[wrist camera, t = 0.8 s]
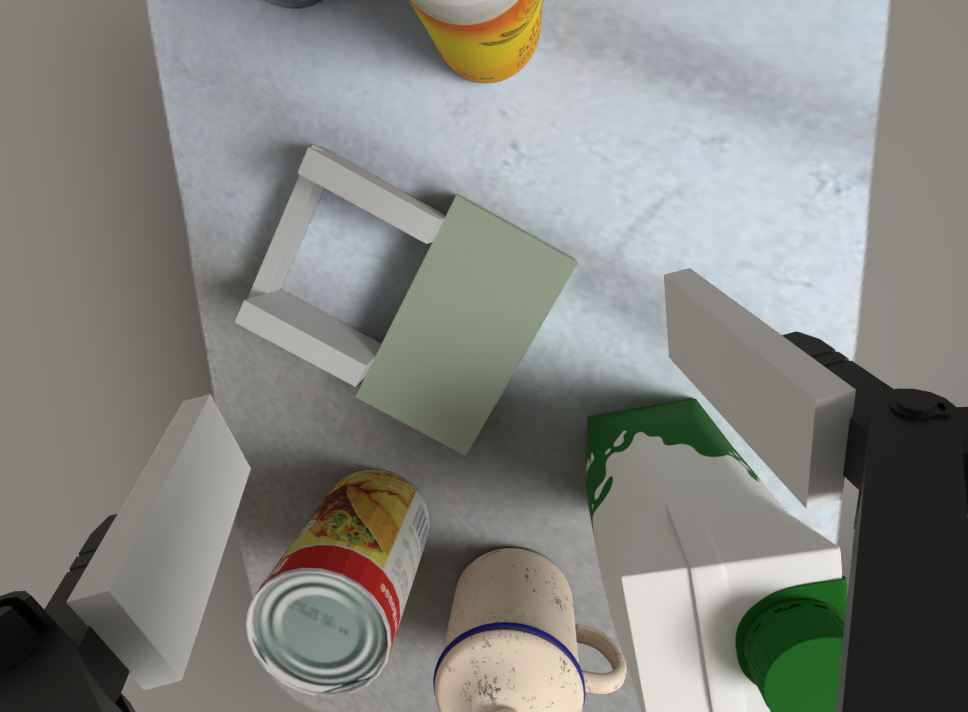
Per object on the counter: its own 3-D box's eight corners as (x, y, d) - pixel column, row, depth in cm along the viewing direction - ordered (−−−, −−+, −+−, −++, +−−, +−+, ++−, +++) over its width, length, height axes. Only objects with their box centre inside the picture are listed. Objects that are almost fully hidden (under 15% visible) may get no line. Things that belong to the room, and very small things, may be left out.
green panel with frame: (333, 125, 35) (302, 111, 31) (574, 258, 36) (580, 265, 31) (250, 320, 39) (210, 335, 34) (470, 438, 40) (461, 469, 35)
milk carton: (724, 502, 39) (906, 784, 20) (592, 522, 41) (643, 805, 21) (708, 381, 37) (892, 564, 18) (569, 406, 39) (604, 602, 19)
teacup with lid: (446, 638, 44) (416, 785, 33) (459, 533, 42) (431, 653, 30) (603, 664, 43) (628, 823, 32) (625, 559, 41) (659, 690, 30)
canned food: (312, 477, 42) (226, 580, 30) (416, 461, 41) (370, 561, 29) (340, 572, 43) (268, 704, 32) (440, 558, 42) (405, 690, 31)
